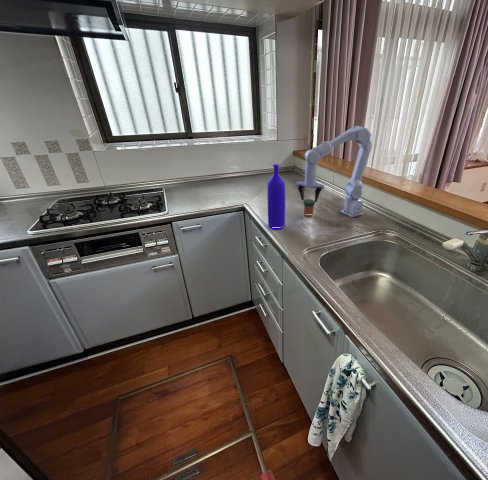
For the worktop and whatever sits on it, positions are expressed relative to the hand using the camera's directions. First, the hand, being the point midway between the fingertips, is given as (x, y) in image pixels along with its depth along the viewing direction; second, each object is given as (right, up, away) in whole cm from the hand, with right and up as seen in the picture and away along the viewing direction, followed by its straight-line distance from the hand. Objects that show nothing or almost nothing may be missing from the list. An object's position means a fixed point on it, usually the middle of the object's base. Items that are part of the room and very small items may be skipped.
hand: (309, 200), depth 140 cm
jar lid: (0, 0, 0) cm, 0 cm away
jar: (0, -7, +4) cm, 8 cm away
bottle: (-17, -14, -8) cm, 23 cm away
